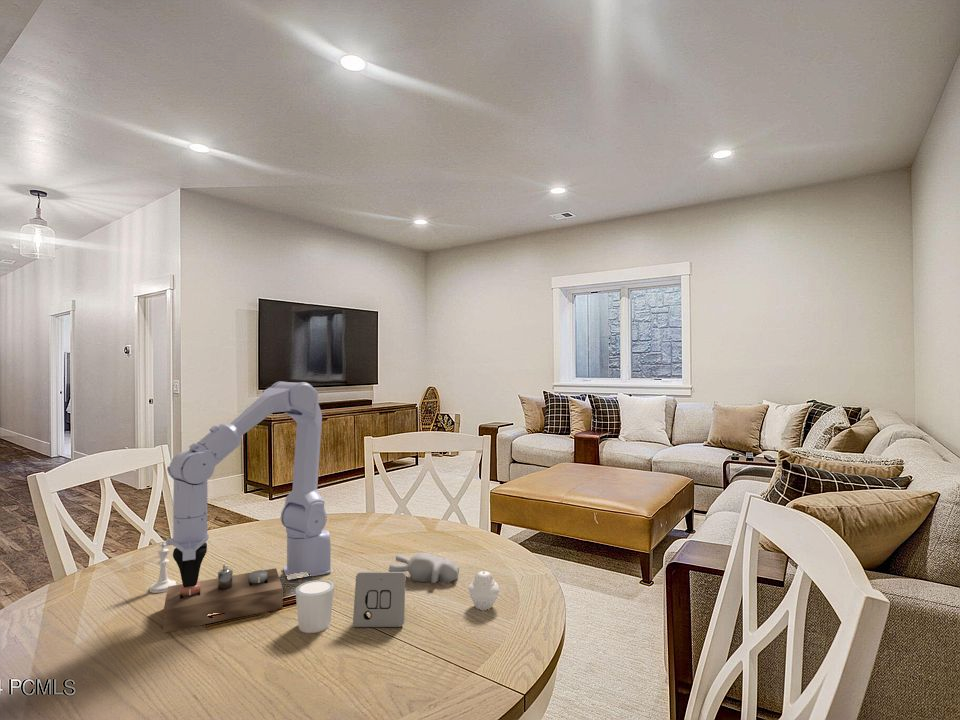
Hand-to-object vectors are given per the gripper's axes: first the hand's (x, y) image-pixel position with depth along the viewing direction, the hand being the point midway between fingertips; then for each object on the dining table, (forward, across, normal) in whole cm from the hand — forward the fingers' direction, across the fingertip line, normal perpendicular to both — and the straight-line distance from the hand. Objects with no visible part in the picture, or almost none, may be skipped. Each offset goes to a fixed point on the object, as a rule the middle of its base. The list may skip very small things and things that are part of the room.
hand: (190, 585), depth 99 cm
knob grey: (+5, 0, +12) cm, 13 cm away
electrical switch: (+6, +19, +32) cm, 37 cm away
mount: (+6, 0, +6) cm, 8 cm away
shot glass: (+6, +15, +20) cm, 26 cm away
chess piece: (+6, -16, -6) cm, 18 cm away
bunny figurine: (+6, +5, +46) cm, 47 cm away
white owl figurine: (+6, +23, +52) cm, 57 cm away
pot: (+2, 0, +6) cm, 6 cm away
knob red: (+5, 0, 0) cm, 5 cm away
